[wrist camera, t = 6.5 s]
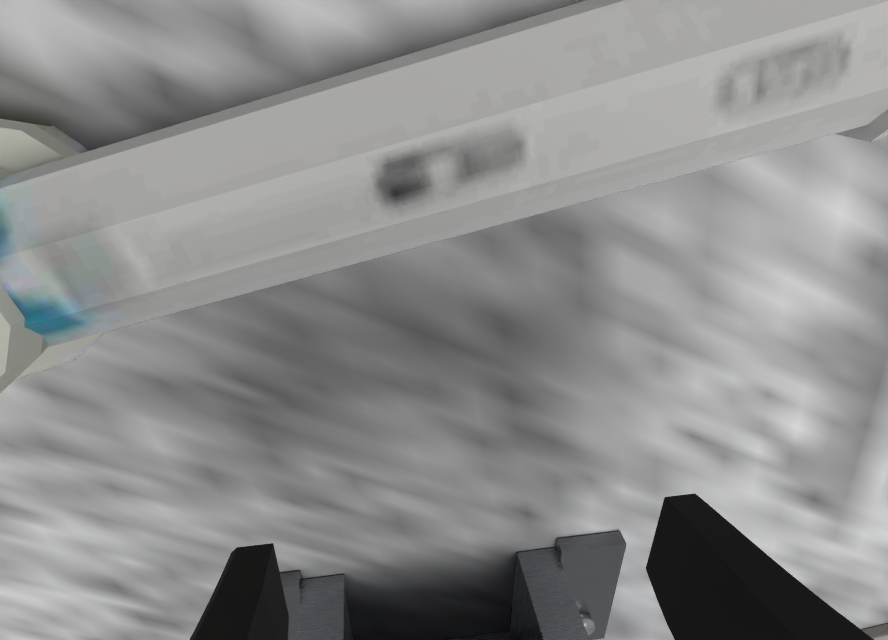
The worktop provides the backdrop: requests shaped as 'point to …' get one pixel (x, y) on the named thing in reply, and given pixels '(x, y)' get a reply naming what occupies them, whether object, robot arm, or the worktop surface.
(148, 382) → the worktop surface
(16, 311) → the light grey piece
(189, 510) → the worktop surface
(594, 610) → the bracket sleeve
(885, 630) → the skyscraper
